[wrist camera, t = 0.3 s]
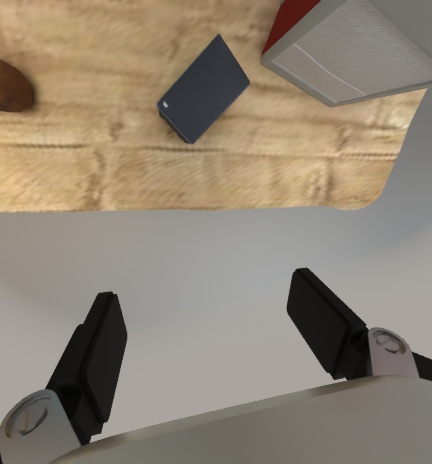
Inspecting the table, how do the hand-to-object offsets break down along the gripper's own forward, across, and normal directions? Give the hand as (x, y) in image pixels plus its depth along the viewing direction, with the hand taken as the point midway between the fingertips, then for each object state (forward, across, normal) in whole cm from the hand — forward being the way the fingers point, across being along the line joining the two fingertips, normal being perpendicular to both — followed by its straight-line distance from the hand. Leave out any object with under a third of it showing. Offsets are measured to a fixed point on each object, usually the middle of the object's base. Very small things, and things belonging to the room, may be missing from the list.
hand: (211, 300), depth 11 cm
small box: (+31, -3, -13) cm, 34 cm away
